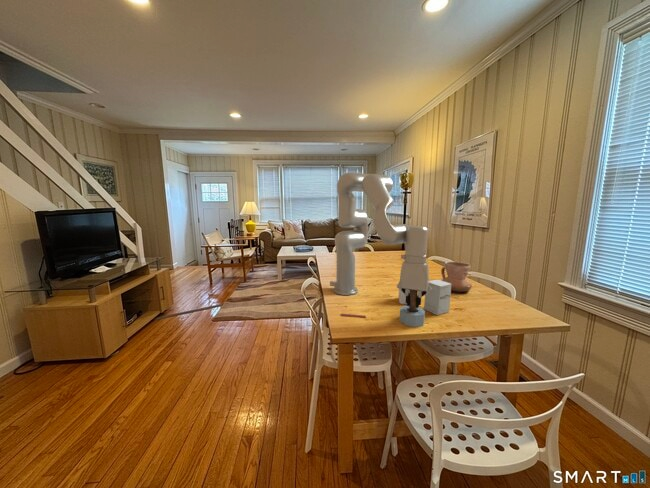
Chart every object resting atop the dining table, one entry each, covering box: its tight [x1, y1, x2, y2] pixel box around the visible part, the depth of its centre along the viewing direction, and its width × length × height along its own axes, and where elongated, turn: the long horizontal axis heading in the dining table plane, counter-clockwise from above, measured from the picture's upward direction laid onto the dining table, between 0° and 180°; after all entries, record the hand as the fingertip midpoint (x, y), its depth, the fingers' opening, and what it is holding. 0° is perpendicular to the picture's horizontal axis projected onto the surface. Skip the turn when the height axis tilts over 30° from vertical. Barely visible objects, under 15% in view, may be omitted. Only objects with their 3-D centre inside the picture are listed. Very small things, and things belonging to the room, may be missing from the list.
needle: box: [409, 289, 418, 313], centre depth 97 cm, size 3×3×13 cm
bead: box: [399, 305, 426, 328], centre depth 98 cm, size 9×9×5 cm
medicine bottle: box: [398, 288, 410, 305], centre depth 118 cm, size 7×7×12 cm
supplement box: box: [423, 279, 452, 316], centre depth 108 cm, size 7×7×13 cm
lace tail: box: [340, 313, 367, 318], centre depth 103 cm, size 10×1×1 cm, turn 78°
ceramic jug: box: [441, 261, 473, 293], centre depth 134 cm, size 18×14×14 cm
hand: (413, 305), depth 98 cm, fingers closed on needle, 2 cm apart
